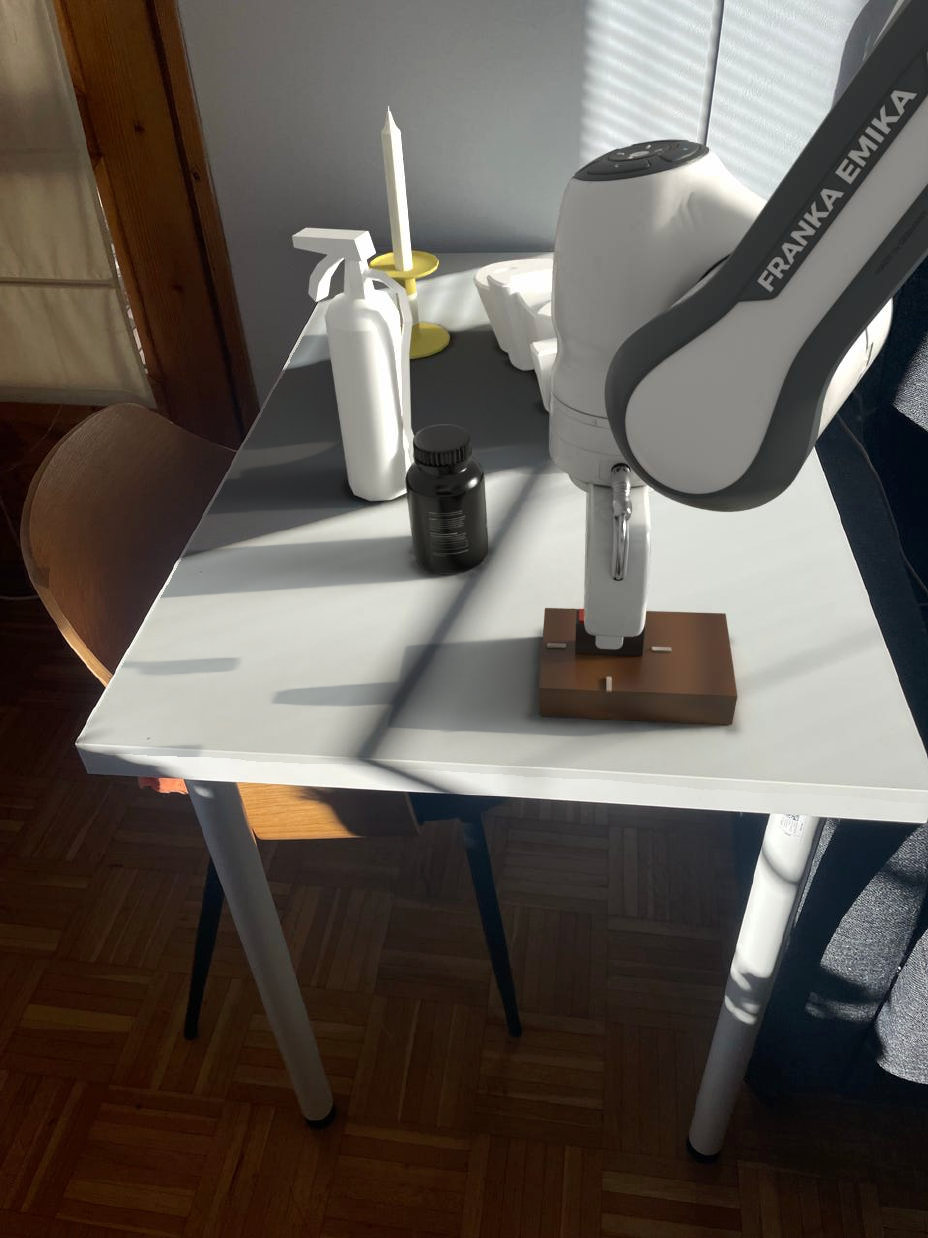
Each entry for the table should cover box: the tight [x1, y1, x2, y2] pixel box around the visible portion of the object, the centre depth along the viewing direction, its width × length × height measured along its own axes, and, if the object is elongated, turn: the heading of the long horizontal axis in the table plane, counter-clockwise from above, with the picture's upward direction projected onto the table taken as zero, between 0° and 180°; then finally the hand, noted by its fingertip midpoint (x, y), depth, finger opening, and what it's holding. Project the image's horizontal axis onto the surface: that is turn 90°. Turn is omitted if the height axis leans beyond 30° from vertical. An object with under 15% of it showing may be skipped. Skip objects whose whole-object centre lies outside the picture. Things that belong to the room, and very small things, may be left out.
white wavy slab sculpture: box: [472, 258, 557, 413], centre depth 108 cm, size 35×16×11 cm, turn 12°
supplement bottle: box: [405, 423, 489, 575], centre depth 83 cm, size 7×7×12 cm
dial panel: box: [538, 607, 738, 726], centre depth 73 cm, size 14×9×3 cm, turn 84°
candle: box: [368, 105, 451, 360], centre depth 112 cm, size 10×10×27 cm
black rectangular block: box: [575, 608, 646, 656], centre depth 71 cm, size 5×2×3 cm, turn 84°
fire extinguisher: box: [291, 227, 415, 502], centre depth 88 cm, size 7×12×25 cm, turn 58°
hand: (608, 597), depth 68 cm, fingers open, 8 cm apart
